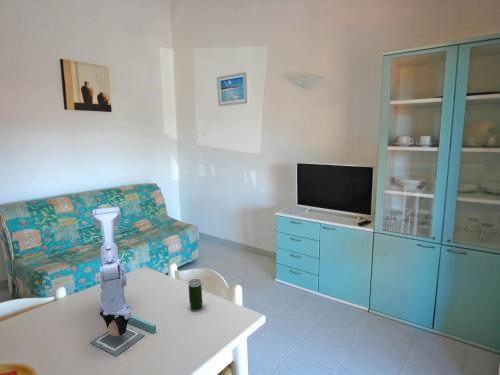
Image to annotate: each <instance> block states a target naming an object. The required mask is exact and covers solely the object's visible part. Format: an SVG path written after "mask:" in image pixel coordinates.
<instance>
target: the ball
mask: <svg viewBox="0 0 500 375" xmlns="http://www.w3.org/2000/svg"><path fill="white" fill-rule="evenodd" d="M107 331H108V332H109V334H110V335H112V336H119V332H118V327H117V325H116V323H115V321H114V320H113V321H112V322H111V323H110V324H109V326H108V328H107Z"/></svg>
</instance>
